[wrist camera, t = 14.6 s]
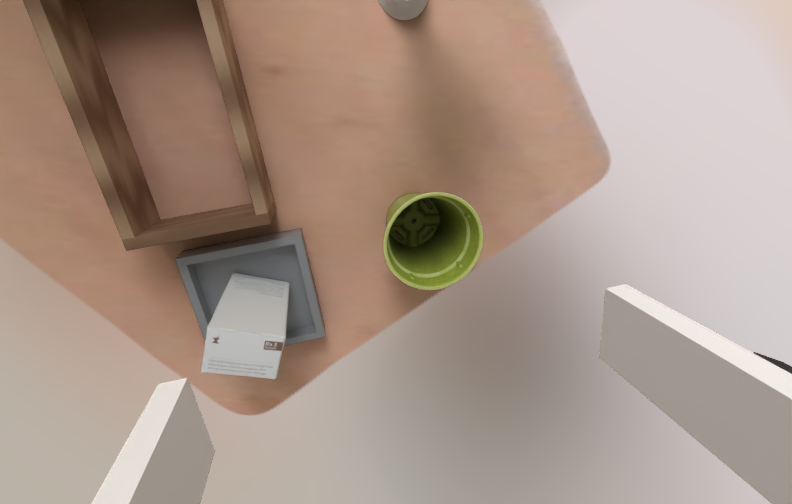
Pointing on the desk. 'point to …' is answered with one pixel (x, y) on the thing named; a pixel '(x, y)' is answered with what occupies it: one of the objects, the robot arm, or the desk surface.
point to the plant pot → (432, 240)
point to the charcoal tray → (259, 258)
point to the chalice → (403, 8)
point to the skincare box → (248, 328)
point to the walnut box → (109, 139)
